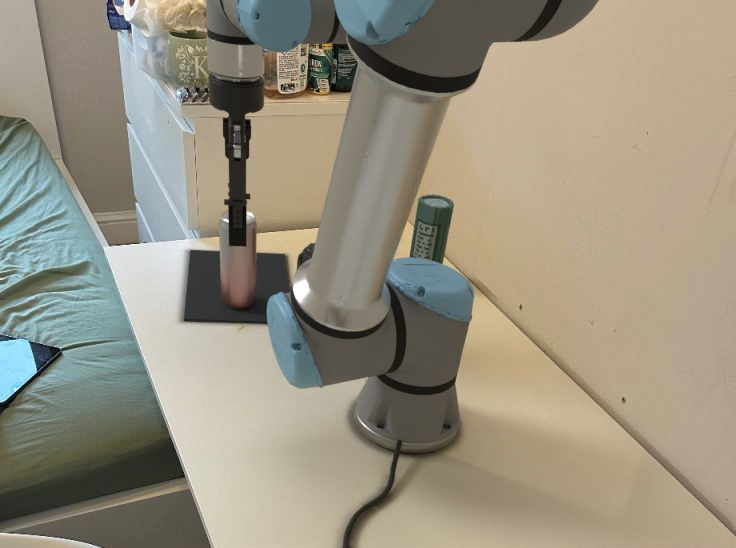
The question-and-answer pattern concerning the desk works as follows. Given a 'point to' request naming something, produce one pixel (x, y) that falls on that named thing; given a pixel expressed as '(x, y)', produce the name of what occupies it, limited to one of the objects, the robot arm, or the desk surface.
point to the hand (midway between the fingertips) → (237, 244)
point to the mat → (207, 288)
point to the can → (431, 227)
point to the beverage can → (238, 265)
